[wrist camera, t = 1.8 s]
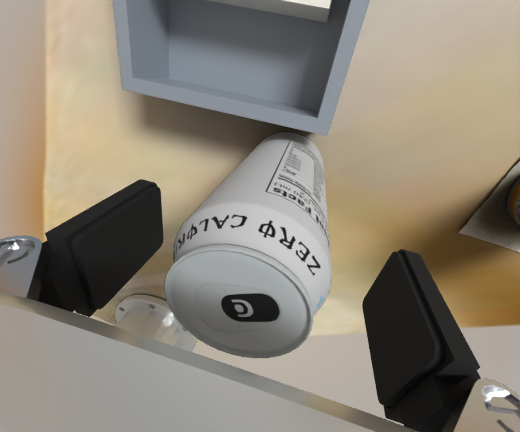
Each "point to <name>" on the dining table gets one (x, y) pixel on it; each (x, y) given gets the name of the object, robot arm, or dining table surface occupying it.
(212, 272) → the energy drink can
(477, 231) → the condiment
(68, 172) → the dining table surface
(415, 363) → the robot arm
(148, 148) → the dining table surface
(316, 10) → the walled box
